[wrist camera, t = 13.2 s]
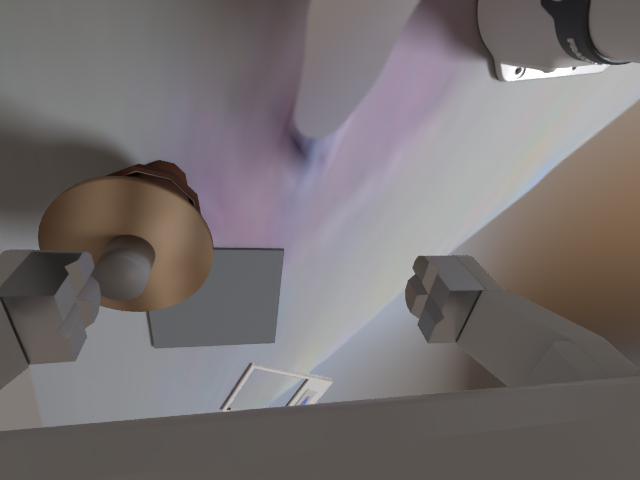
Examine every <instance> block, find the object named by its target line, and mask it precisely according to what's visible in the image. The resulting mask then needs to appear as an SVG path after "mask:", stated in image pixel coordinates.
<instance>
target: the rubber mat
mask: <svg viewBox="0 0 640 480" xmlns="http://www.w3.org/2000/svg"><path fill="white" fill-rule="evenodd" d="M283 256H284V249H261V248H213V261H212V266H211V270H210V273H209V275H208V277H207V279H206V281H205V282H204V284H203V285H202V286H201V287H200V289H199V290H197V291H196V292H195V293H194V294H193V295H192V296H190V297H189V298H187V299H186V300H184V301H182V302H180V303H178V304H176V305H173V306H171V307H167V308H164V309H160V310H154V311H149V317H150V323H151V330H152V336H153V343H154V348H174V347H196V346H217V345H239V344H261V343H275V334H276V324H277V315H278V305H279V295H280V285H281V276H282V266H283Z"/></svg>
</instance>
